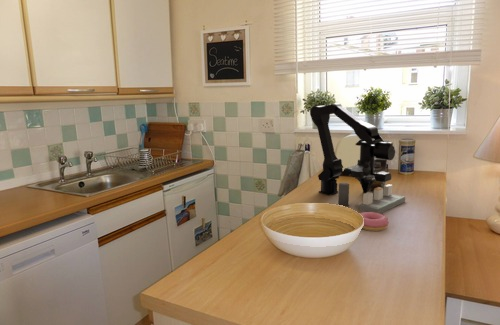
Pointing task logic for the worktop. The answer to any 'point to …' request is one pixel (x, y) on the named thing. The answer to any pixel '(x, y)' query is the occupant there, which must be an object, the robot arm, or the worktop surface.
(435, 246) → the worktop surface
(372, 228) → the doughnut
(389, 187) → the paddle right
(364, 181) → the robot arm
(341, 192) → the dark grey tall block
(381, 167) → the coffee box
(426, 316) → the worktop surface
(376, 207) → the breaker panel
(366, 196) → the paddle left
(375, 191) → the block
